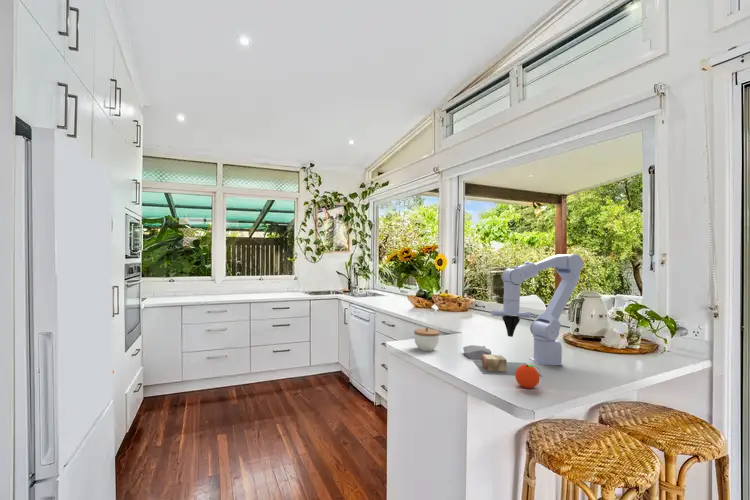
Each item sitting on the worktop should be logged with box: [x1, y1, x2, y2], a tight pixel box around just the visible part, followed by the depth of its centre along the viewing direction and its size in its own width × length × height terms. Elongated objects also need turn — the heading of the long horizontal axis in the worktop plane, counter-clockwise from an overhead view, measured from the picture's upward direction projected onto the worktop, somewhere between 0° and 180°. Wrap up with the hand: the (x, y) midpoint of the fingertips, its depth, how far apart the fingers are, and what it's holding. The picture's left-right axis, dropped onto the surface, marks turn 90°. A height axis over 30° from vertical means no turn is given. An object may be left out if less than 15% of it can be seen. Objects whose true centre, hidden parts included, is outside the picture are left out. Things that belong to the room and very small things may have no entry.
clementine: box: [514, 364, 541, 389], centre depth 113 cm, size 8×7×7 cm
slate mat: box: [472, 360, 544, 378], centre depth 132 cm, size 20×16×1 cm
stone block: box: [463, 344, 492, 360], centre depth 148 cm, size 12×5×10 cm
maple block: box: [481, 354, 508, 371], centre depth 131 cm, size 4×6×7 cm
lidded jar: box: [413, 326, 440, 352], centre depth 157 cm, size 11×11×9 cm
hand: (510, 336), depth 139 cm, fingers closed
